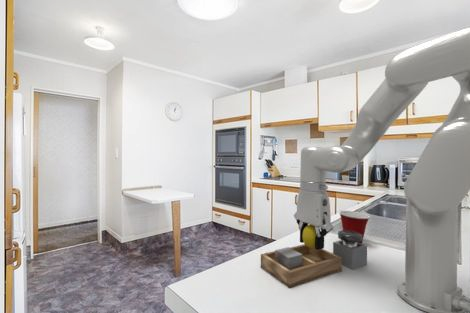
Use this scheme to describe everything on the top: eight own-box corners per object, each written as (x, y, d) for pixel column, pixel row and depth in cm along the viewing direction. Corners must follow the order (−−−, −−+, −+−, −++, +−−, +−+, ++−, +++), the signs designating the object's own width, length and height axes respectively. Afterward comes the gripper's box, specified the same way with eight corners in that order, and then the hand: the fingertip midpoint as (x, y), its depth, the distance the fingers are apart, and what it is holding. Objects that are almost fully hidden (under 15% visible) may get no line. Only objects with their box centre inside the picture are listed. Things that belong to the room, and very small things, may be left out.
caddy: (341, 270, 72) (341, 250, 72) (289, 288, 62) (289, 265, 62) (309, 254, 83) (309, 237, 83) (260, 267, 74) (260, 247, 74)
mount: (366, 264, 76) (367, 245, 76) (352, 269, 73) (352, 249, 73) (347, 256, 82) (347, 238, 82) (333, 260, 79) (333, 242, 79)
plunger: (367, 262, 76) (367, 235, 76) (352, 267, 73) (352, 238, 73) (347, 254, 82) (347, 229, 82) (333, 258, 79) (333, 232, 79)
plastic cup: (374, 250, 88) (375, 217, 87) (342, 248, 89) (343, 215, 89) (363, 239, 98) (364, 210, 98) (335, 238, 100) (335, 209, 100)
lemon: (306, 244, 79) (306, 220, 79) (323, 249, 76) (324, 223, 75) (299, 249, 75) (299, 223, 75) (316, 254, 71) (317, 227, 71)
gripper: (345, 190, 69) (343, 253, 69) (301, 183, 84) (300, 235, 85) (326, 192, 66) (325, 258, 66) (285, 184, 81) (283, 238, 81)
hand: (311, 244), depth 75 cm, fingers closed on lemon, 5 cm apart
